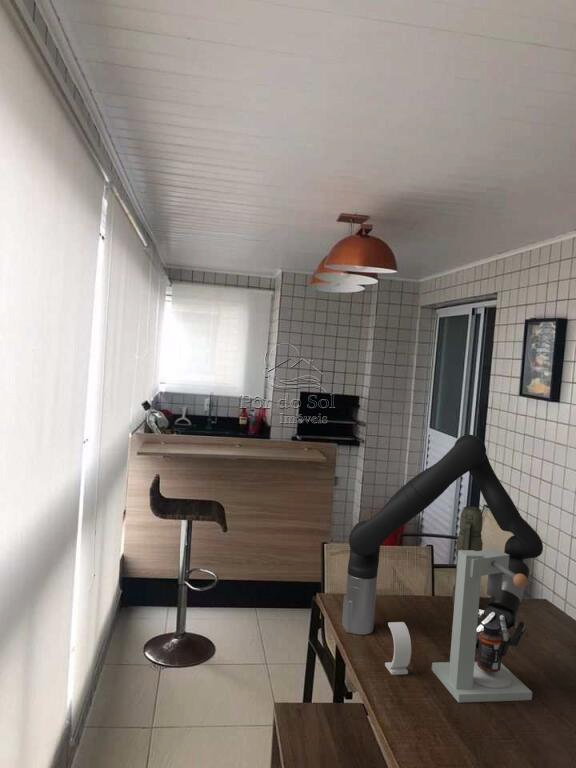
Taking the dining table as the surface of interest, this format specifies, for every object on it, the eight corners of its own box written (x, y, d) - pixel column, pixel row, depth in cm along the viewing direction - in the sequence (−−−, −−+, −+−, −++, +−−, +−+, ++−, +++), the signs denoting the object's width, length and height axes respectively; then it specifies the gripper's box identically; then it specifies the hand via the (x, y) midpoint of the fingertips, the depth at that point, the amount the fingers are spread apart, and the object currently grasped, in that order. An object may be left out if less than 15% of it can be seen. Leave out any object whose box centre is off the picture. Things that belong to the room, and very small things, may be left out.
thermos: (450, 608, 209) (457, 509, 208) (453, 597, 220) (461, 502, 219) (476, 613, 206) (484, 512, 205) (478, 602, 216) (486, 506, 216)
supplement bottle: (502, 675, 155) (505, 632, 154) (478, 671, 156) (481, 628, 156) (498, 664, 161) (501, 622, 160) (475, 660, 162) (478, 619, 161)
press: (477, 725, 138) (489, 572, 138) (431, 669, 164) (441, 539, 163) (555, 722, 142) (567, 572, 141) (498, 668, 167) (508, 540, 166)
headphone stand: (400, 664, 165) (403, 622, 165) (409, 676, 159) (412, 631, 159) (384, 665, 164) (388, 622, 164) (393, 676, 158) (396, 632, 158)
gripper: (478, 581, 168) (457, 635, 159) (531, 596, 159) (512, 655, 150) (484, 595, 172) (464, 648, 163) (536, 610, 163) (517, 668, 154)
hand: (487, 651), depth 157 cm, fingers closed on supplement bottle, 6 cm apart
